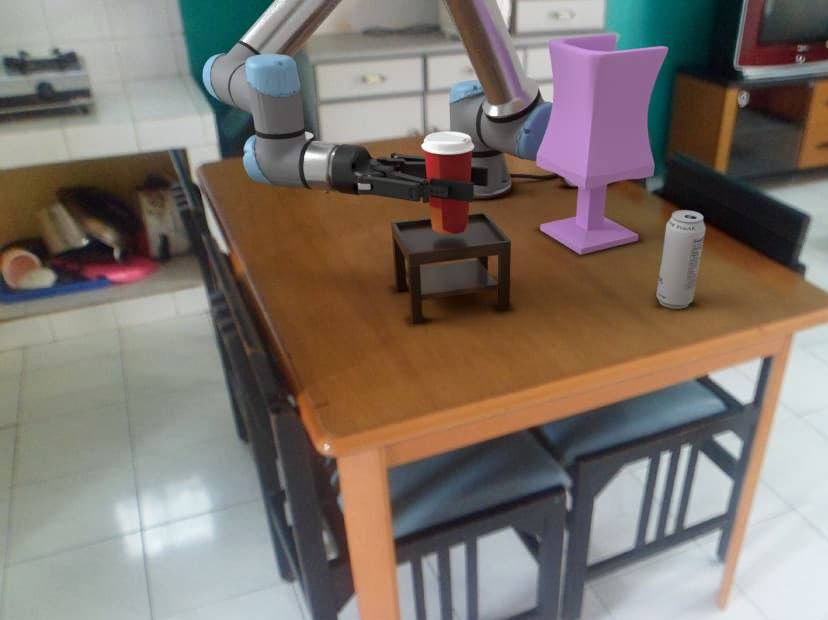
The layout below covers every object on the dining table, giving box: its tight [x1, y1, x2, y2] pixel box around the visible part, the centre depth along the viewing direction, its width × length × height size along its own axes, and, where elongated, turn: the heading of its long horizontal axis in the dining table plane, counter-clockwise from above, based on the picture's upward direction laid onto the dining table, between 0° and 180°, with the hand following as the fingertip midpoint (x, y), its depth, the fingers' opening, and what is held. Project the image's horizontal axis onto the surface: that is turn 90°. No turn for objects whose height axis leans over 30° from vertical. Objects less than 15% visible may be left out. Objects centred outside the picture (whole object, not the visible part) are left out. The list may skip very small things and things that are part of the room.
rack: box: [390, 211, 512, 324], centre depth 121 cm, size 16×13×12 cm
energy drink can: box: [656, 209, 707, 310], centre depth 120 cm, size 6×6×15 cm
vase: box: [535, 33, 669, 256], centre depth 138 cm, size 16×16×35 cm
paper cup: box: [421, 131, 474, 234], centre depth 114 cm, size 8×8×14 cm
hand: (480, 184), depth 112 cm, fingers closed on paper cup, 6 cm apart
